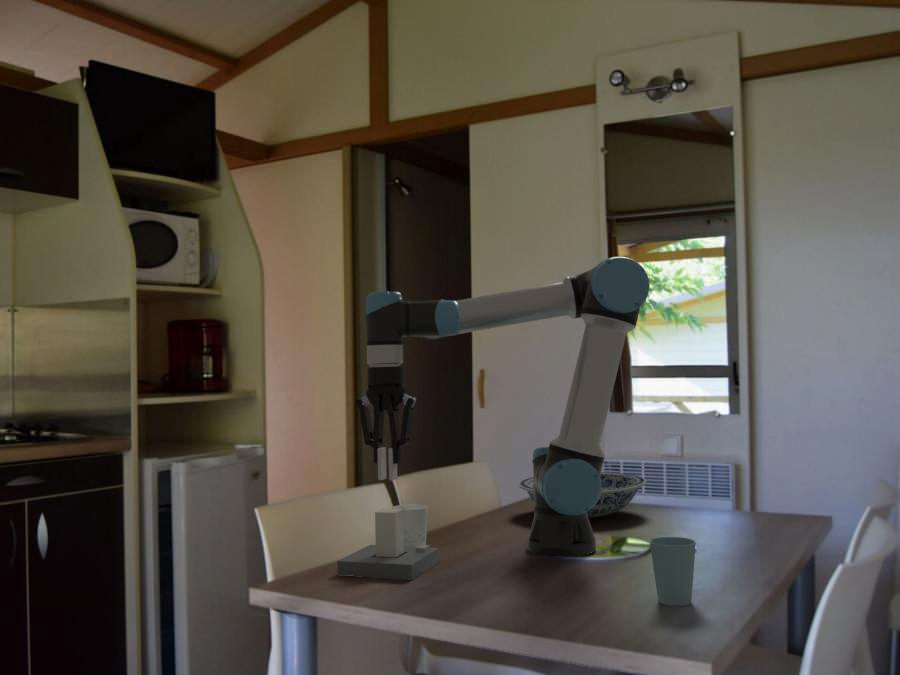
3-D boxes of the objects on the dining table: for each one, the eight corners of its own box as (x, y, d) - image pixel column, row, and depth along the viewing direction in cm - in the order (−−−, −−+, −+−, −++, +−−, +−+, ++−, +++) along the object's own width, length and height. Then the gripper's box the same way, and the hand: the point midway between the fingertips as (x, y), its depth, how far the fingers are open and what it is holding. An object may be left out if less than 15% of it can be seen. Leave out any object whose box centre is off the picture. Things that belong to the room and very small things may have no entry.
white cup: (423, 555, 190) (422, 510, 190) (389, 554, 191) (388, 509, 191) (431, 548, 197) (430, 504, 198) (398, 547, 199) (397, 504, 199)
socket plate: (439, 562, 182) (438, 544, 183) (412, 580, 167) (411, 560, 167) (370, 558, 188) (369, 541, 188) (337, 576, 172) (337, 557, 173)
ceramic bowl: (493, 517, 235) (492, 481, 235) (573, 502, 258) (572, 468, 258) (594, 533, 210) (592, 492, 210) (672, 514, 233) (671, 477, 233)
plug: (404, 567, 179) (403, 509, 179) (396, 572, 175) (395, 512, 175) (384, 566, 180) (383, 508, 181) (376, 571, 176) (374, 512, 176)
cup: (642, 602, 148) (640, 541, 148) (668, 593, 153) (667, 534, 153) (679, 610, 142) (678, 547, 143) (706, 602, 147) (704, 540, 148)
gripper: (424, 364, 180) (427, 477, 179) (360, 366, 185) (362, 476, 184) (411, 365, 173) (414, 482, 172) (345, 366, 178) (347, 481, 177)
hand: (387, 479), depth 178 cm, fingers open, 2 cm apart
